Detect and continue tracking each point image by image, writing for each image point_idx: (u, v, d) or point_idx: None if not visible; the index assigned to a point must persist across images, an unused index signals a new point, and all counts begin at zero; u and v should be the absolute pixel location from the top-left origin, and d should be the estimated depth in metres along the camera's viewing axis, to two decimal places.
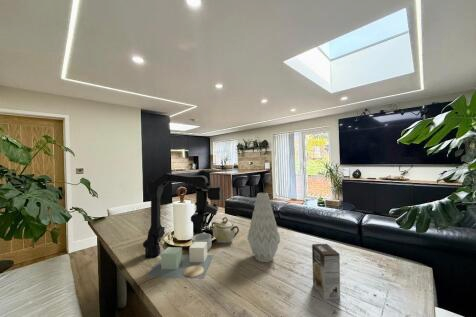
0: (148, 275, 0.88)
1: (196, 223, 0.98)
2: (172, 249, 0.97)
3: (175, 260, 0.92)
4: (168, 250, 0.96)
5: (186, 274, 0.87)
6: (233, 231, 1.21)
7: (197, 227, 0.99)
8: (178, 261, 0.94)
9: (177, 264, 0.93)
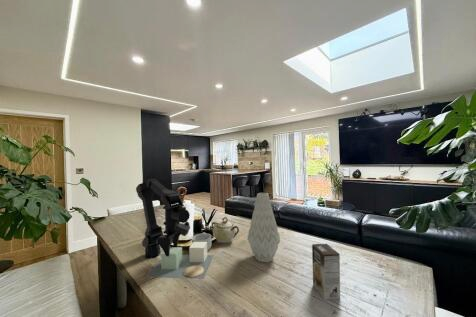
0: (148, 275, 0.88)
1: (163, 245, 0.90)
2: (172, 249, 0.97)
3: (175, 260, 0.92)
4: None
5: (186, 274, 0.87)
6: (233, 231, 1.21)
7: (165, 250, 0.90)
8: (178, 261, 0.94)
9: (177, 264, 0.93)
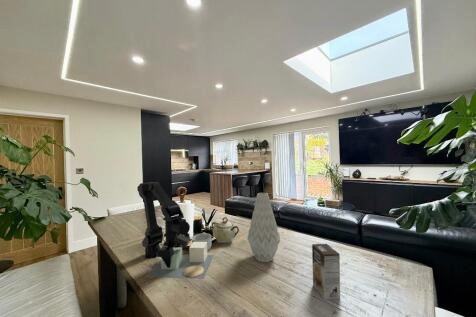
0: (148, 275, 0.88)
1: (164, 257, 0.91)
2: None
3: (175, 260, 0.92)
4: None
5: (186, 274, 0.87)
6: (233, 231, 1.21)
7: (166, 261, 0.91)
8: (178, 261, 0.94)
9: (177, 264, 0.93)
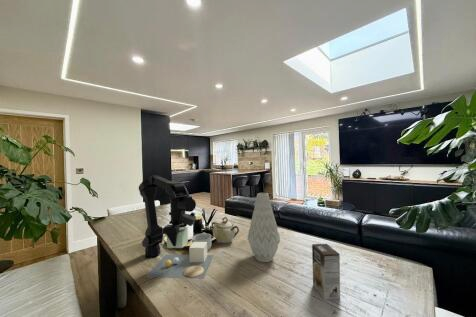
0: (148, 275, 0.88)
1: (170, 235, 0.89)
2: None
3: (181, 238, 0.90)
4: None
5: (186, 274, 0.87)
6: (233, 231, 1.21)
7: (171, 239, 0.89)
8: (183, 239, 0.92)
9: (183, 243, 0.91)
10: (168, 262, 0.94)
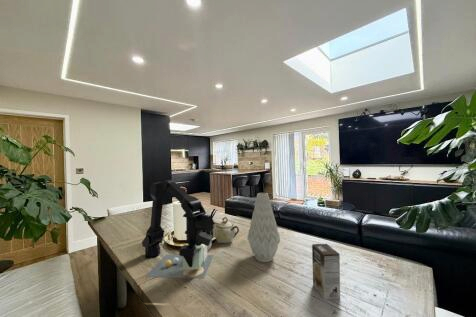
0: (148, 275, 0.88)
1: (186, 256, 0.85)
2: None
3: (197, 259, 0.86)
4: None
5: (186, 274, 0.87)
6: (233, 231, 1.21)
7: (188, 260, 0.85)
8: (200, 260, 0.88)
9: (199, 263, 0.87)
10: (168, 262, 0.94)
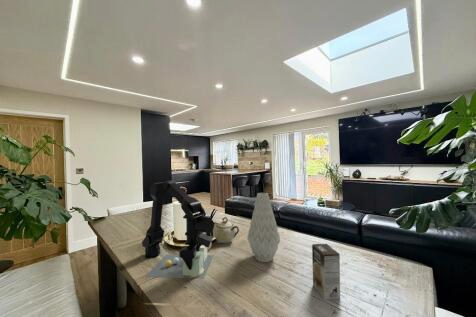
0: (148, 275, 0.88)
1: (186, 258, 0.84)
2: None
3: (198, 265, 0.86)
4: None
5: None
6: (233, 231, 1.21)
7: (187, 263, 0.84)
8: (200, 266, 0.88)
9: (199, 270, 0.87)
10: (168, 262, 0.94)
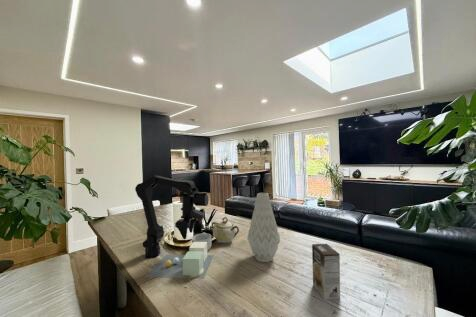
0: (148, 275, 0.88)
1: (181, 229, 0.98)
2: (193, 253, 0.91)
3: (198, 265, 0.86)
4: (189, 255, 0.90)
5: None
6: (233, 231, 1.21)
7: (182, 233, 0.98)
8: (200, 266, 0.88)
9: (199, 270, 0.87)
10: (168, 262, 0.94)
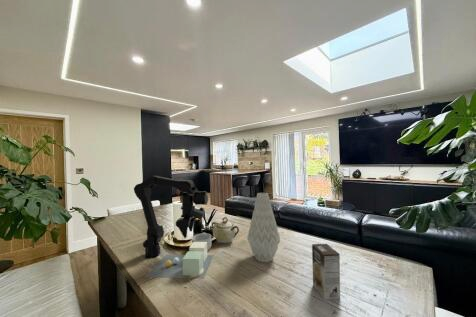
0: (148, 275, 0.88)
1: (181, 228, 0.99)
2: (193, 253, 0.91)
3: (198, 265, 0.86)
4: (189, 255, 0.90)
5: None
6: (233, 231, 1.21)
7: (182, 232, 0.99)
8: (200, 266, 0.88)
9: (199, 270, 0.87)
10: (168, 262, 0.94)
